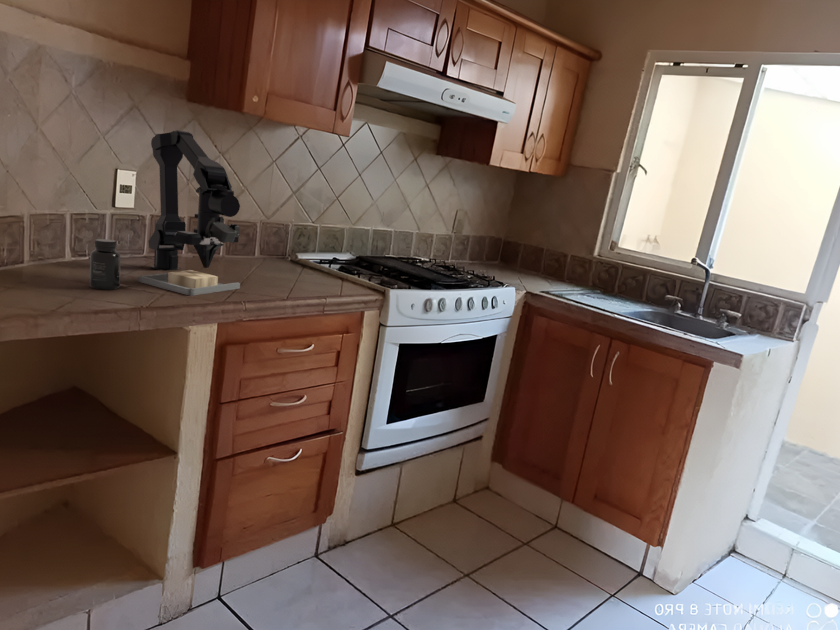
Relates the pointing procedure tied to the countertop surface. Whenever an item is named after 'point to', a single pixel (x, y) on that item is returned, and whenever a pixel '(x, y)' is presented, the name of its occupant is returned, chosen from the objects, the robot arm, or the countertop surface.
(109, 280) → the supplement bottle
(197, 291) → the mat
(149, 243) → the robot arm
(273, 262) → the countertop surface
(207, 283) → the wooden block
